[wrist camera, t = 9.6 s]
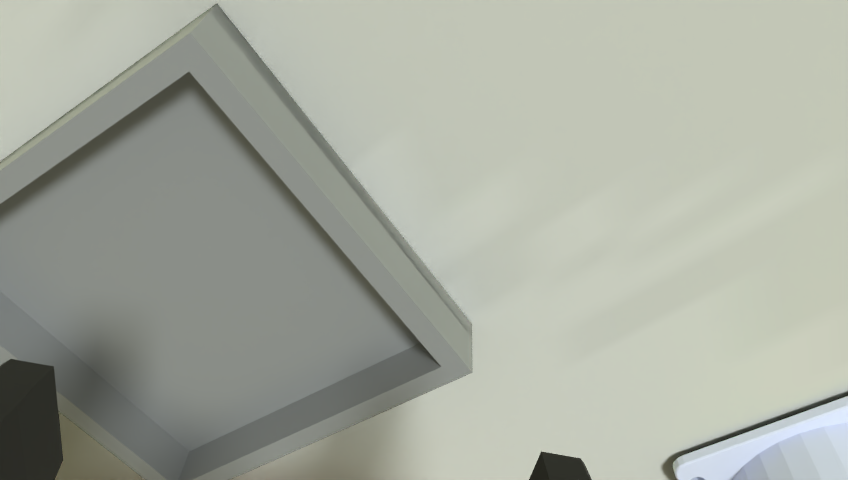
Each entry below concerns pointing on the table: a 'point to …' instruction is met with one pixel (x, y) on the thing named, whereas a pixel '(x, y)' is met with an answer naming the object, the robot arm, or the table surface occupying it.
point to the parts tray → (211, 269)
